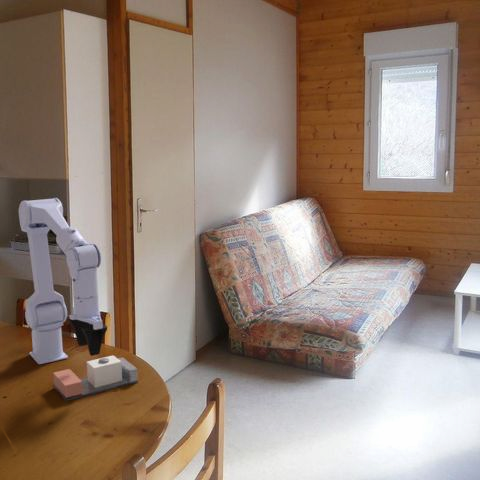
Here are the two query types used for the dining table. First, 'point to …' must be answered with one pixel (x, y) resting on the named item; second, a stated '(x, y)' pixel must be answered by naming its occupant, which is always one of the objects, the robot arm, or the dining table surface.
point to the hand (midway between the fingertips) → (88, 349)
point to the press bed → (127, 378)
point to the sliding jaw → (68, 383)
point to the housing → (104, 371)
